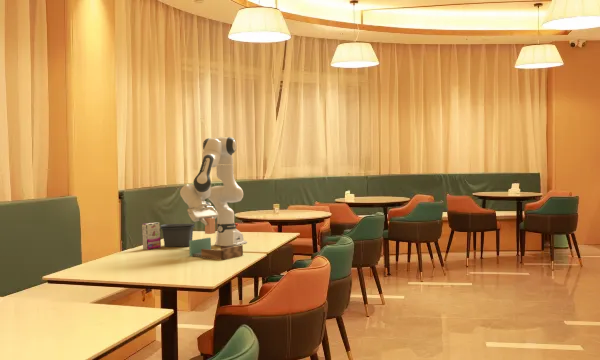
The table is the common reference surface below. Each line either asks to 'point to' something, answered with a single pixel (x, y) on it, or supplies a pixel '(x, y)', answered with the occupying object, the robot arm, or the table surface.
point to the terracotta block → (210, 226)
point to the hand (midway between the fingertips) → (210, 224)
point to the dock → (223, 252)
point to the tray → (199, 246)
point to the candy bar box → (151, 236)
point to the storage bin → (177, 234)
